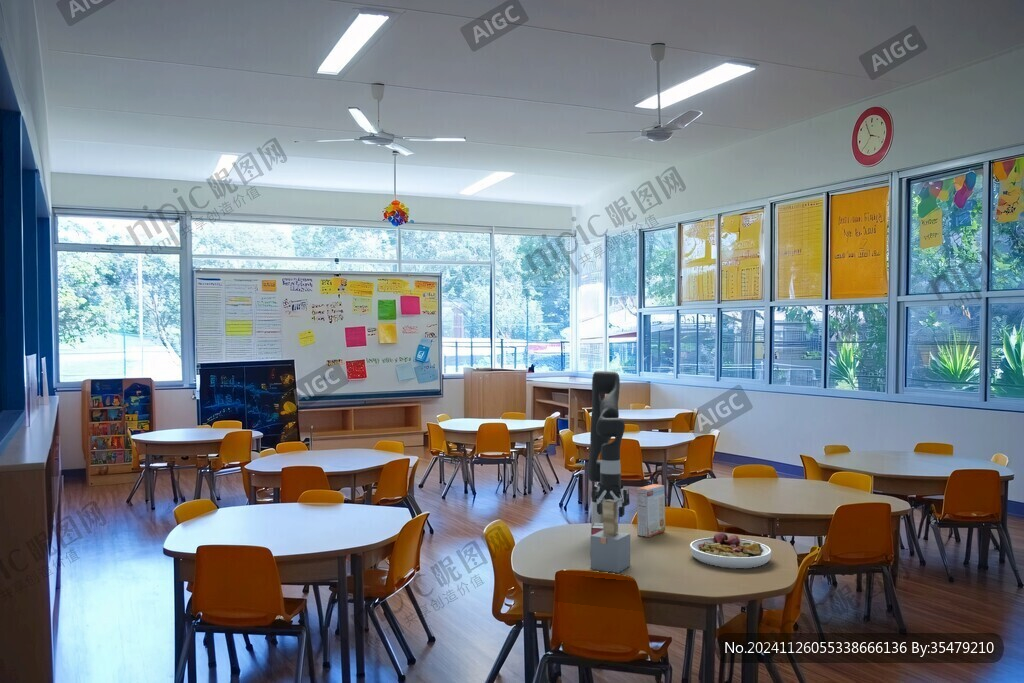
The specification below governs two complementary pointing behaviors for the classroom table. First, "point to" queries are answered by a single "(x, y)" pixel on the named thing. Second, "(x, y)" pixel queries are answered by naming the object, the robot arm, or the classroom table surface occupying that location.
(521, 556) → the classroom table surface
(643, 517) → the cracker box
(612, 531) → the post
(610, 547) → the grey box
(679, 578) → the classroom table surface
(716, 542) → the plate of food
